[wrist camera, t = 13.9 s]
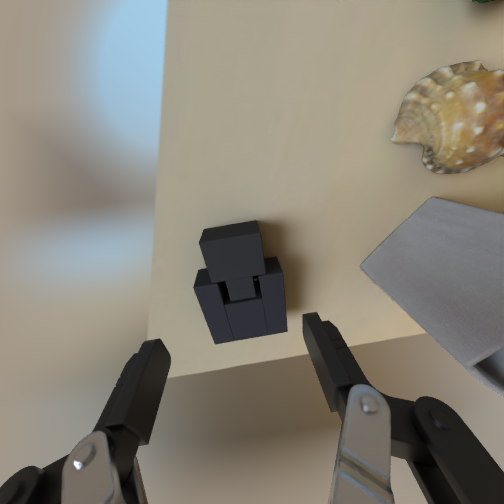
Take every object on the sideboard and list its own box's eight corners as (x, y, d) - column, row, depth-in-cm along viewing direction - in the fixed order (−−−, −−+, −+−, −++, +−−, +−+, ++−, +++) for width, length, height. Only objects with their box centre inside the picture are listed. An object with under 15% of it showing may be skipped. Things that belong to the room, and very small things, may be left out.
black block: (219, 284, 25) (218, 303, 22) (203, 229, 21) (198, 242, 18) (264, 276, 25) (268, 294, 22) (256, 220, 21) (260, 232, 18)
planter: (367, 208, 22) (846, 421, 5) (435, 195, 22) (1158, 364, 5) (353, 309, 30) (513, 522, 13) (402, 299, 30) (629, 501, 13)
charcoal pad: (216, 323, 28) (214, 344, 25) (198, 269, 24) (193, 287, 21) (281, 312, 29) (287, 331, 25) (276, 256, 24) (283, 272, 21)
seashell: (449, 62, 18) (662, 21, 11) (418, 153, 24) (552, 162, 17) (399, 76, 15) (653, 29, 8) (375, 177, 20) (519, 202, 13)
